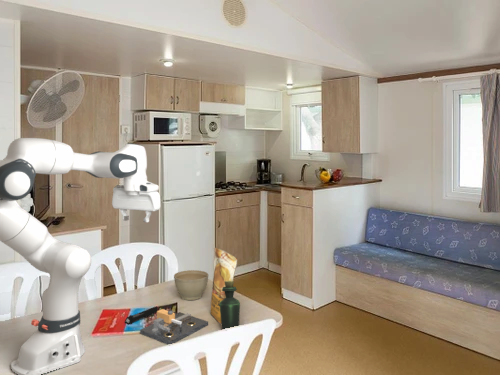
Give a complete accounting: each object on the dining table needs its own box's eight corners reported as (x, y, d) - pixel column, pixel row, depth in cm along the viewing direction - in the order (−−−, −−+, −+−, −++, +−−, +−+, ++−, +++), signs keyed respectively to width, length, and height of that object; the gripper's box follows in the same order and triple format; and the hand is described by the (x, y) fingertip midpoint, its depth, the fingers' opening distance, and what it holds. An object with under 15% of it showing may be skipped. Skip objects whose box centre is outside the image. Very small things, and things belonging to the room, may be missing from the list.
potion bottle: (244, 327, 161) (243, 280, 163) (233, 331, 154) (232, 282, 156) (227, 326, 165) (226, 280, 167) (215, 330, 158) (214, 282, 160)
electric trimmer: (160, 314, 177) (160, 307, 176) (129, 325, 164) (129, 318, 164) (154, 312, 179) (154, 305, 179) (124, 323, 167) (123, 315, 166)
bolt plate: (169, 345, 148) (169, 329, 147) (140, 333, 157) (139, 318, 156) (208, 325, 165) (208, 310, 164) (179, 315, 174) (179, 302, 174)
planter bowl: (215, 297, 196) (215, 275, 195) (187, 306, 185) (186, 282, 184) (195, 288, 207) (195, 267, 206) (167, 296, 196) (167, 274, 195)
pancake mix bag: (220, 308, 183) (221, 246, 180) (237, 324, 166) (239, 256, 163) (206, 310, 180) (206, 247, 177) (222, 327, 163) (223, 258, 160)
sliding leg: (178, 329, 156) (178, 316, 156) (156, 322, 163) (156, 309, 163) (184, 327, 159) (184, 313, 158) (162, 319, 166) (162, 306, 165)
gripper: (108, 185, 160) (108, 220, 161) (153, 187, 153) (153, 224, 154) (118, 184, 166) (119, 218, 167) (162, 186, 158) (162, 221, 160)
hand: (136, 221), depth 160 cm, fingers open, 8 cm apart
